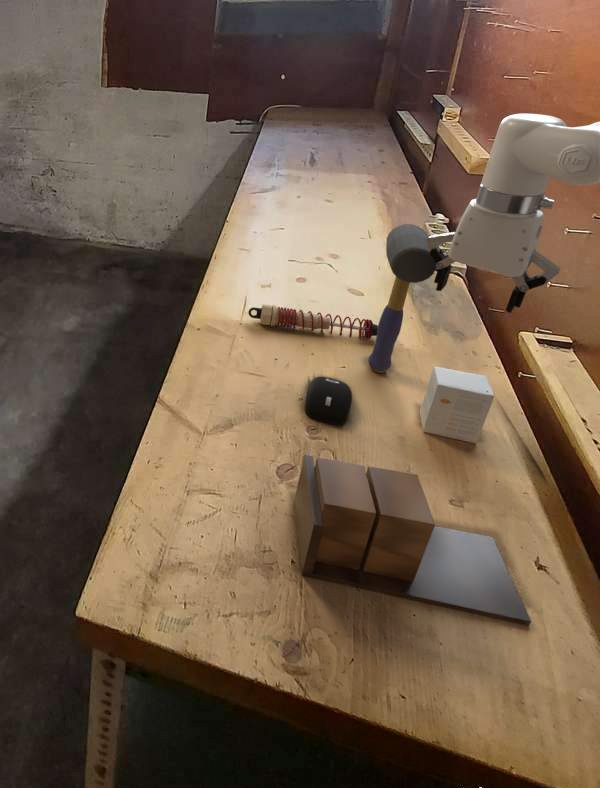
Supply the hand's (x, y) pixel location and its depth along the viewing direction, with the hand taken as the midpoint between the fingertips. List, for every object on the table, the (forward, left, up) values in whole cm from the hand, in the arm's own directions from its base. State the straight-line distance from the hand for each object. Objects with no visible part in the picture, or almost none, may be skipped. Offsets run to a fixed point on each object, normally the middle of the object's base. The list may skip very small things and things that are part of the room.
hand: (474, 298), depth 91 cm
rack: (+13, +33, -24) cm, 43 cm away
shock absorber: (+17, -23, -24) cm, 38 cm away
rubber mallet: (+7, -11, -24) cm, 28 cm away
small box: (-1, +4, -24) cm, 25 cm away
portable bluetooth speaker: (+18, +2, -24) cm, 30 cm away
